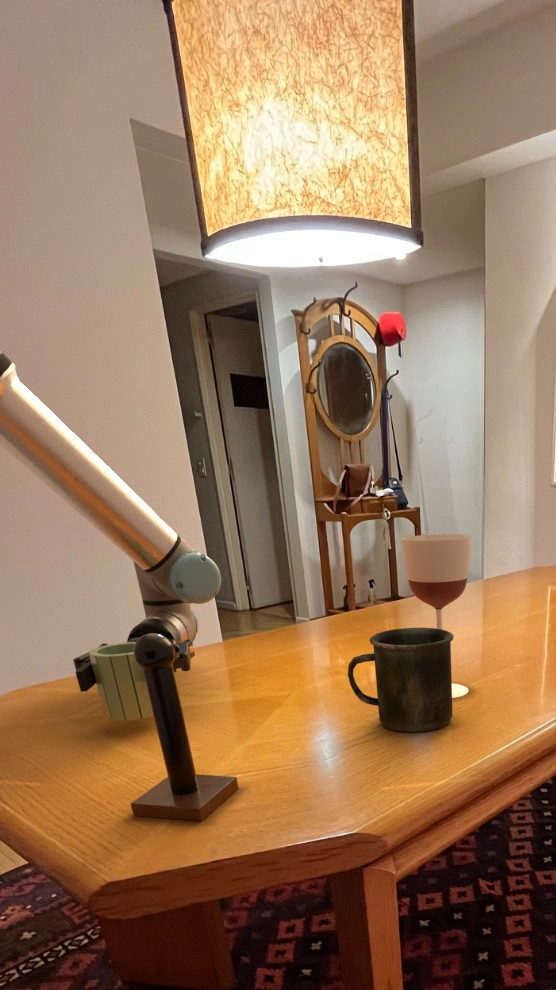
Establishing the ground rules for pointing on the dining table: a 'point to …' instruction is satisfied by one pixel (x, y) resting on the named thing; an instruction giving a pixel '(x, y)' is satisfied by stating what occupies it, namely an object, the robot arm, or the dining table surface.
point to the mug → (410, 678)
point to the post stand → (174, 744)
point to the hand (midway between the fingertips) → (116, 679)
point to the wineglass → (438, 573)
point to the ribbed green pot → (120, 682)
